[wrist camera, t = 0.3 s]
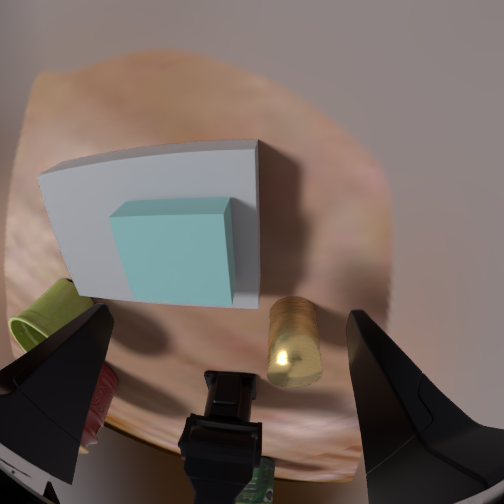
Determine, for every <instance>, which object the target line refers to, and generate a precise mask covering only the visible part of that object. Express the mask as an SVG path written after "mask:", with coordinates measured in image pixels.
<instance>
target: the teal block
mask: <svg viewBox="0 0 504 504" xmlns="http://www.w3.org/2000/svg"><path fill="white" fill-rule="evenodd" d="M109 221H110V225H111V228H112V232H113V235H114V239H115V242H116V246H117V249H118V252H119V256H120V259H121V262H122V265H123V268H124V271H125V274H126V277H127V280H128V283H129V286H130V289H131V291H132V294H133V297H134V300H143V301H156V302H169V303H183V304H200V305H220V306H232V304H233V298H234V293H235V288H236V271H235V258H234V245H233V231H232V217H231V203H230V197H207V198H176V199H154V200H137V201H126V202H125V203H124V204H122V205H121V206H120V207H119V208H118V209H117V210H116V211H115V212H114V213H113V214H112V215H111V216H109Z"/></svg>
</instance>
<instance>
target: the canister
mask: <svg viewBox="0 0 504 504" xmlns="http://www.w3.org/2000/svg"><path fill="white" fill-rule="evenodd" d="M117 385H118V380H117V378H116V376H115V374H114V373H113V372H112V370H111V369H110V368H109V367H108V366H107V365H106V364H104V363H103V366H102V369H101V372H100V375H99V378H98V382H97V385H96V388H95V391H94V395H93V398H92V401H91V405H90V408H89V412H88V415H87V419H86V423H85V427H84V431H83V435H82V439H81V442H80V448H79V452H78V454H81V453H88V452H89V451H88V450H87V447H88V446H89V445H90V444H97V443H98V440H97V437H96V435H97V433H98V430H99V428H100V427H103V426H104V420H105V417H106V415H107V412H108V409H109V407H110V404H111V401H112V399H113V397H114V396H115V394H116V392H117Z"/></svg>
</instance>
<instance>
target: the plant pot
mask: <svg viewBox="0 0 504 504" xmlns="http://www.w3.org/2000/svg"><path fill="white" fill-rule="evenodd" d="M93 305H94V302H93V300H92V298H91V297H88V296H80V295H79V293H78V291H77V289H76V287H75V285H74V283H72V282H69V281H68V280H67V279H60V280H58V281H57V282H56V283H55V284H54V285H53V286H51V287H50V288H49V289H48V290H47V291H46V292H45V293H44V294H43V295H42V296H41V297H40V298H39V299H38V300H36V301H35V302H34V303H33V304H32V305H31V306H30V307H29V308H28V309H27V310H26V311H23V312H21V313H20V314H19V315H18V316H13V317H12V318H11V319H10V320H9V328H10V331H11V333H12V335H13V337H14V338H15V340H16V341H17V342H18V344H19V345H20V346H21V347H22V349H23V350H24V351H25V352H26V353H27V352H28V351H30V350H31V349H32V348H34V347H35V346H36V345H38V344H39V343H40V342H42V341H43V340H45V339H46V338H47V337H49V336H50V335H52V334H53V333H54V332H56V331H57V330H59V329H60V328H61V327H63V326H64V325H66V324H67V323H69V322H70V321H71V320H73V319H74V318H76V317H77V316H79V315H80V314H81V313H83V312H84V311H86V310H87V309H89V308H90V307H92V306H93Z"/></svg>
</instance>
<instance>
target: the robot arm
mask: <svg viewBox="0 0 504 504" xmlns="http://www.w3.org/2000/svg"><path fill="white" fill-rule="evenodd" d="M113 326H114V318H113V316H112V314H111V312H110V310H109V308H108V306H107V305H106V304H104V303H96V304H95V305H93V306H92V307H90V308H89V309H87V310H86V311H84V312H83V313H81V314H80V315H79V316H77V317H76V318H74V319H73V320H71V321H70V322H69V323H67V324H66V325H64V326H63V327H61V328H60V329H59V330H57V331H56V332H54V333H53V334H52V335H50V336H49V337H47V338H46V339H45V340H43V341H42V342H40V343H39V344H38V345H36V346H35V347H34V348H32V349H31V350H30V351H28V352H27V353H25V354H24V355H23V356H21V357H20V358H18V359H17V360H15V361H14V362H12V363H11V364H9V365H8V366H6V367H5V368H3V369H1V370H0V504H60V502H59V500H58V498H57V496H56V494H55V491H54V489H53V486H52V484H51V482H49V481H48V478H49V475H52V476H54V477H56V478H58V479H60V480H62V481H64V482H66V483H68V484H70V485H72V482H73V477H74V472H75V466H76V462H77V456H78V452H79V448H80V442H81V439H82V435H83V431H84V427H85V423H86V419H87V415H88V412H89V408H90V405H91V401H92V398H93V395H94V391H95V388H96V385H97V382H98V378H99V375H100V372H101V369H102V366H103V363H104V360H105V357H106V354H107V350H108V346H109V341H110V338H111V334H112V330H113ZM346 336H347V346H348V357H349V369H350V376H351V381H352V386H353V391H354V397H355V402H356V408H357V414H358V420H359V426H360V432H361V439H362V446H363V453H364V460H365V469H366V474H367V475H366V479H367V488H368V499H369V504H504V429H498V428H492V427H487V426H483V425H481V424H478V423H477V422H475V421H473V420H472V419H471V418H470V417H468V416H467V415H466V414H465V413H464V412H463V411H462V410H461V409H460V408H459V407H457V406H456V405H455V404H454V403H453V402H452V401H451V400H450V399H449V398H447V397H446V396H445V395H444V394H443V393H442V392H441V391H440V390H439V389H438V388H437V387H436V386H435V385H434V384H433V383H432V382H431V381H430V380H429V379H428V377H427V376H426V375H425V374H422V371H421V370H420V369H419V368H418V367H417V366H416V365H415V364H414V363H413V361H412V360H411V359H410V358H409V357H408V356H407V355H406V354H405V353H404V352H403V351H402V350H401V349H400V348H399V347H398V346H397V345H396V343H395V342H394V341H393V340H392V339H391V338H390V337H389V336H388V335H387V334H386V333H385V332H384V331H383V330H382V329H381V328H380V327H379V326H378V325H377V324H376V323H375V322H374V321H373V320H372V319H371V318H370V317H369V316H368V315H367V313H366V312H365V311H363V310H361V309H359V310H351V312H350V314H349V318H348V322H347V327H346ZM204 377H205V380H206V383H207V387H208V390H209V392H208V397H207V402H206V407H205V412H204V416H201V415H196V414H193V413H191V415H190V417H187V419H186V424H185V428H184V431H183V433H182V435H181V437H180V440H179V442H178V447H179V448H180V449H181V457H182V459H185V463H184V471H185V473H186V475H187V477H188V479H189V482H190V484H191V486H192V488H193V490H194V492H195V498H194V504H234V503H235V499H236V498H237V497H238V496H239V494H240V493H241V492H242V491H243V490H244V489H245V488H246V486H247V485H248V484H249V483H250V481H251V480H252V478H253V472H254V469H259V467H260V462H261V453H262V423H261V422H258V423H253V422H250V415H251V404H252V400H255V399H256V376H255V375H253V374H238V373H223V372H211V371H205V372H204Z"/></svg>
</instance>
